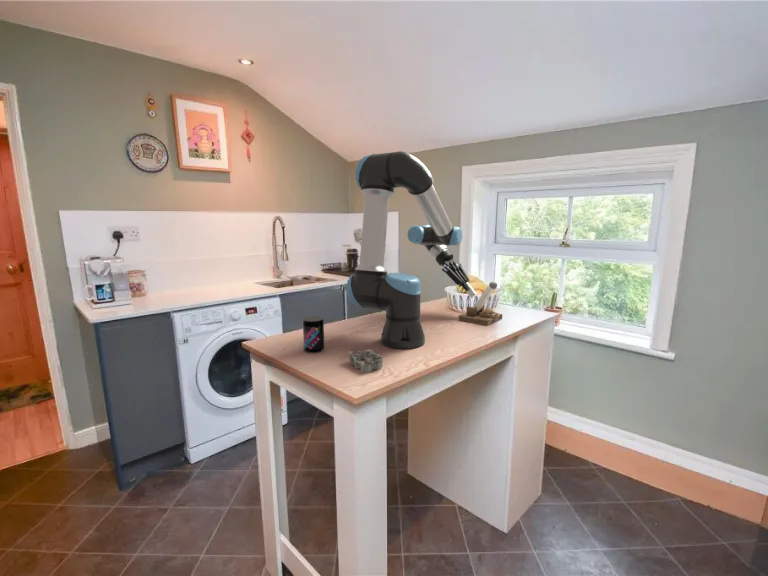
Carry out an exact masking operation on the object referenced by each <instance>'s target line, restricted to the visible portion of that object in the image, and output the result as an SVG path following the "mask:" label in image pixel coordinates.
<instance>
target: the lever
mask: <svg viewBox="0 0 768 576" xmlns="http://www.w3.org/2000/svg"><path fill="white" fill-rule="evenodd" d="M497 288H498V283H497V282H496V281H490V282H489V285H488V286H487V287H486V288H485V289H484V291H483V293H482V294H481V295H480V297H479V298H478V300H477V301H476V303H474V305H473V307H476V308H477V309H476V313H477V312H479V311H480V309H481V308H482V307H483V305H484V306H485V304H486V302H487V301H488V300H489V299H490V297H491V295H492V294H493V293H494V291H495V290H496V289H497Z"/></svg>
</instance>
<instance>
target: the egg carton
mask: <svg viewBox="0 0 768 576" xmlns="http://www.w3.org/2000/svg"><path fill="white" fill-rule="evenodd" d="M347 353H349V354H350V356H349V357H348V361H349V364H350V365H354V368H356V369H360V372H361V371H362V372H361V373H371V372H372V369H373V370H377V369H378V371H379V369H380V370H382V368H383V359H384V358H385V356H381V355H380V354H379V353H377V352H374V351H373V350H372V349H365V350H362V351H360V350H358V351H357V353H355V352H354V351H350V350H349V349H348V350H347ZM362 359H363V360H364V361H362ZM364 371H365V372H364ZM370 371H371V372H370Z"/></svg>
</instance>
